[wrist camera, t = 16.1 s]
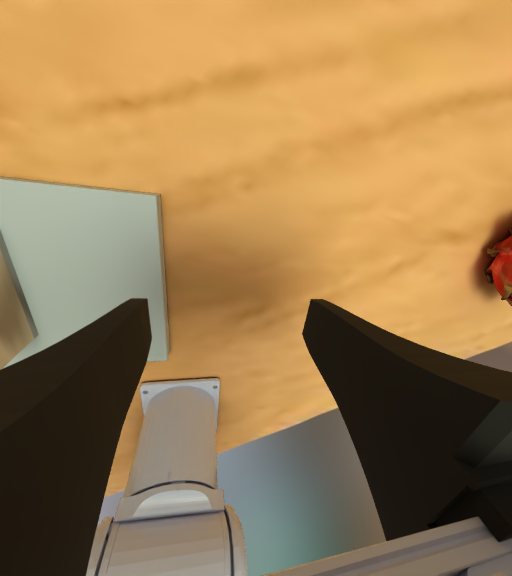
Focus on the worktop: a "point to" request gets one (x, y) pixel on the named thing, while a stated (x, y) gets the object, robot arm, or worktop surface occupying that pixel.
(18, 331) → the block
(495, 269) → the dragon fruit
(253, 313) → the worktop surface
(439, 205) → the worktop surface
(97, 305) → the board
